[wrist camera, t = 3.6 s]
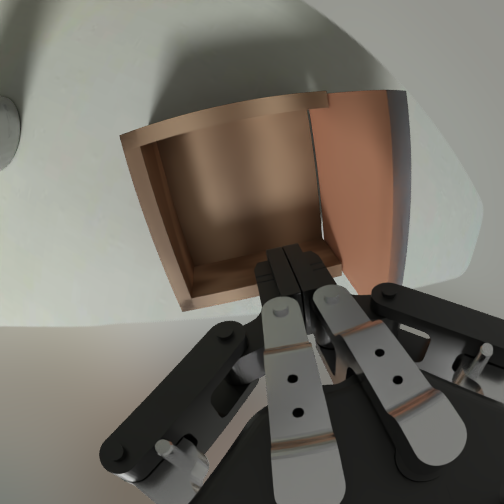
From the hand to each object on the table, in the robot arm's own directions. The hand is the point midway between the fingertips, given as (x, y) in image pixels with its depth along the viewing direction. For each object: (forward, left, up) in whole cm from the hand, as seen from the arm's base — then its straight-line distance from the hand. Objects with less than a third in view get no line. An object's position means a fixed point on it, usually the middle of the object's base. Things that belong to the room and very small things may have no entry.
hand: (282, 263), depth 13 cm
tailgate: (+6, 0, -12) cm, 14 cm away
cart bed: (-1, 0, -15) cm, 15 cm away
